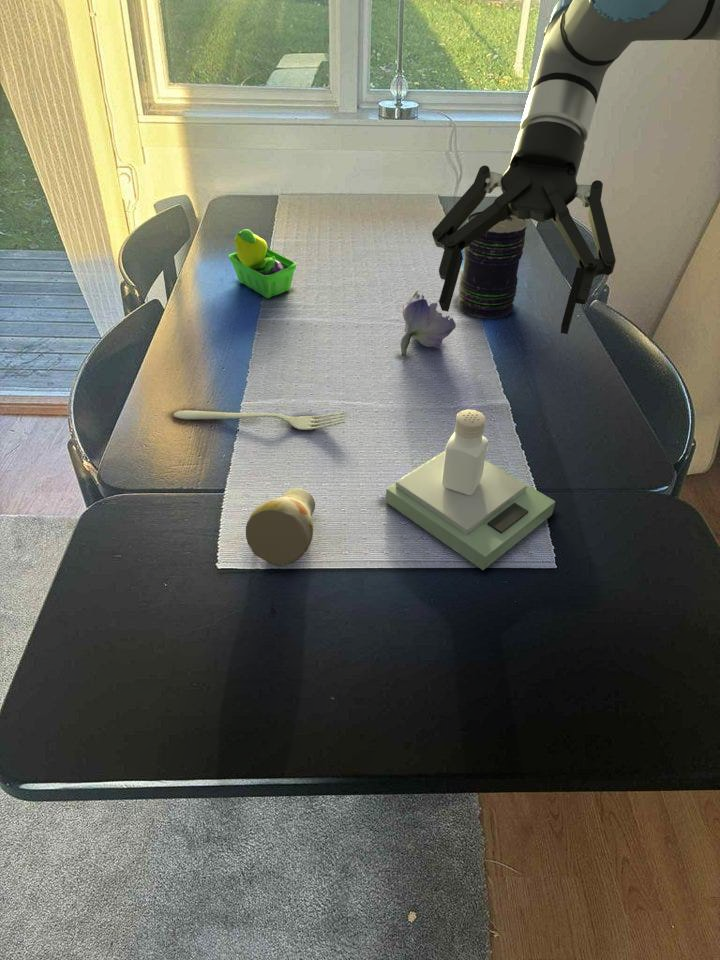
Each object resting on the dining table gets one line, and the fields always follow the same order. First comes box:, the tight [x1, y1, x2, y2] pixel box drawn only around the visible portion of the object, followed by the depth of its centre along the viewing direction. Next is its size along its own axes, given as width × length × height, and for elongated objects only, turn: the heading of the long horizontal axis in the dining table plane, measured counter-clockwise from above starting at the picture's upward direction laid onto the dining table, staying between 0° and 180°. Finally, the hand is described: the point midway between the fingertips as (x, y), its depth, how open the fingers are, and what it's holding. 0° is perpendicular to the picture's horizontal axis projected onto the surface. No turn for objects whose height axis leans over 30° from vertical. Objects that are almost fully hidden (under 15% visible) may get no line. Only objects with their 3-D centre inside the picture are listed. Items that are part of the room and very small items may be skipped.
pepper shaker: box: [442, 408, 489, 495], centre depth 80 cm, size 4×4×10 cm
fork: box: [173, 409, 348, 431], centre depth 96 cm, size 3×24×2 cm, turn 85°
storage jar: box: [457, 210, 528, 319], centre depth 119 cm, size 10×10×15 cm
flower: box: [400, 289, 457, 358], centre depth 110 cm, size 9×9×10 cm
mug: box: [245, 487, 316, 566], centre depth 77 cm, size 8×10×10 cm
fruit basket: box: [228, 228, 298, 299], centre depth 124 cm, size 11×9×11 cm
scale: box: [385, 450, 556, 571], centre depth 83 cm, size 15×13×3 cm
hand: (502, 318), depth 78 cm, fingers open, 13 cm apart
